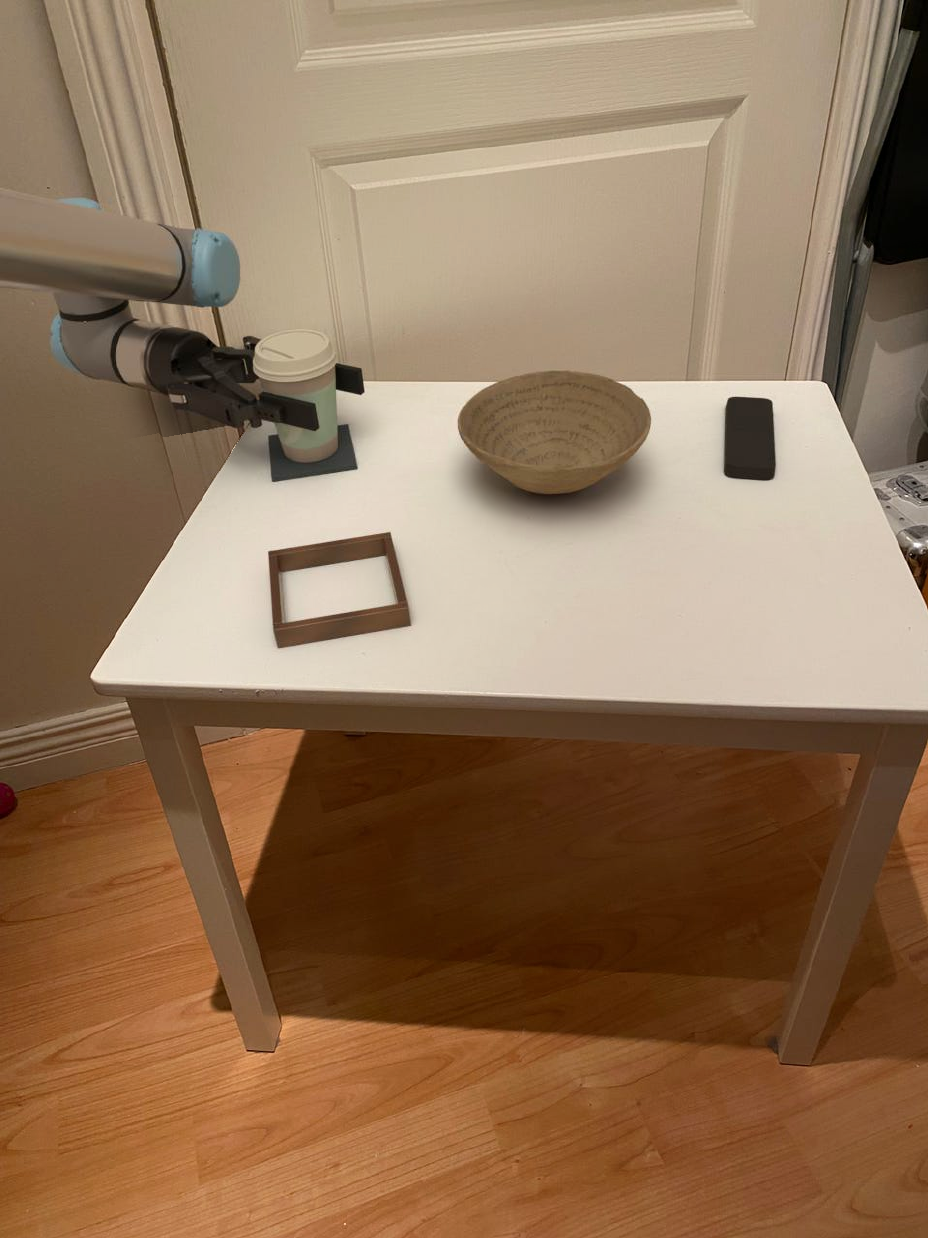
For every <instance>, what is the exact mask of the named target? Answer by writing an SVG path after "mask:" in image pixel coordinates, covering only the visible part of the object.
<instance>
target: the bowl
mask: <svg viewBox="0 0 928 1238" xmlns="http://www.w3.org/2000/svg"><path fill="white" fill-rule="evenodd" d="M651 426H652V415H651V411H650V408H649V406H648V404H647V403H646V401H645V400H644V399H643V397H640V396H639V395H637V394H636V392H634V390H632V388H630V387H628V386H627V385H625V384H622V383H621V382H618V381H615V380H614V379H612V378H609V377H607V376H603V375H600V374H596V373H591V372H581V371H570V370H547V371H536V372H529V373H524V374H521V375H515V376H511V377H508V378H506V379H503V380H499V381H497V382H494V383H493V384H490V385H489V386H487V387H484V388H482V389H481V390H479V391H478V392H477V393H475V394H474V395H473V396H472V397H471V398H470V399H468V400H467V401H466V403H465V404H464V405H463V407H462V408H461V410H460V412H459V414H458V418H457V430H458V433H459V436H460V439H461V441H462V442H463V443H464V445H465V446H466V447H467V449H468V450H469V451H470V452H471V453H472V454H473V456H475V457H476V459H478V460H479V461H480V462H481V463H483V464H484V465H485V466H487V467H488V468H490V469H491V470H492V471H493V472H495V473H496V474H498V475H500V476H501V477H502V478H504V479H506V481H508V482H509V483H511V484H512V485H514V486H515V487H517V488H518V489H521V490H523V491H527V492H530V493H534V494H541V495H558V494H559V495H560V494H569V493H573V492H578V491H581V490H583V489H586V488H589V487H590V486H592V485H594V484H596V483H597V482H599V481H601V480H602V479H603V478H605V477H606V476H608V475H610V474H612V473H613V472H614V471H616V470H617V469H619V468H620V467H621V466H622V465H624V464H625V463H627V462H628V461H629V460H630V459H631V458H632V457H633V456H634V455H635V454H636V453H637V452H638V451H639V450H640V449H641V447H642V446H643V445H644V443H645V441H646V440H647V438H648V436H649V433H650V430H651Z"/></svg>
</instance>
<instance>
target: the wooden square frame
mask: <svg viewBox="0 0 928 1238" xmlns="http://www.w3.org/2000/svg"><path fill="white" fill-rule="evenodd" d="M267 554H268V555H267V557H268V573H269V586H270V601H271V618H272V631H273V635H274V639H275V644H276V647H277V648H278V649H280V648H286V647H292V646H298V645H303V644H309V643H316V642H321V641H327V640H333V639H339V638H345V637H350V636H351V637H352V636H356V635H361V634H362V635H363V634H368V633H373V632H380V631H385V630H391V629H398V628H402V627H408V626H411V625H412V624H411V623H412V621H411V614H410V607H409V603H408V599H407V595H406V591H405V586H404V582H403V577H402V573H401V569H400V565H399V561H398V556H397V553H396V549H395V546H394V540H393V537H392V532H391V531H386V532H382V533H373V534H367V535H362V536H354V537H349V538H343V539H338V540H337V539H336V540H330V541H324V542H318V543H312V544H307V545H306V544H305V545H300V546H292V547H287V548H281V549H280V548H279V549H274V550H268V551H267ZM382 556H385V559H386V564H387V568H388V572H389V577H390V582H391V587H392V590H393V595H394V599H395V602H396V603H394V604H389V605H388V604H387V605H383V606H377V607H376V606H375V607H371V608H366V609H364V608H363V609H359V610H353V611H347V612H341V613H335V614H330V615H324V616H317V617H312V618H305V619H299V620H293V621H287V622H286V617H285V616H286V615H285V603H284V594H283V592H284V591H283V579H282V573H283V572H290V571H296V570H302V569H307V568H309V569H310V568H314V567H315V568H316V567H321V566H327V565H333V564H340V563H345V562H351V561H352V562H353V561H357V560H364V559H370V558H377V557H382Z"/></svg>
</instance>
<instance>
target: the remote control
mask: <svg viewBox="0 0 928 1238" xmlns="http://www.w3.org/2000/svg"><path fill="white" fill-rule="evenodd" d="M774 422H775V421H774V404H773V401H772V399H769V398H765V397H755V396H754V397H751V396H731V397H728V398H727V400H726V404H725V408H724V450H723V451H724V453H723V473H724V475H725V476H726V477H730V478H735V479H750V480H762V481H763V480H764V481H766V480H771V479H774V477H775V475H776V466H777V462H776V461H777V460H776V458H777V457H776V442H775V423H774Z"/></svg>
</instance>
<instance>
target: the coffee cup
mask: <svg viewBox="0 0 928 1238" xmlns="http://www.w3.org/2000/svg"><path fill="white" fill-rule="evenodd" d="M336 352H337V351H336V349H335V347H334V346H333V345H332V343H331V341H330V338H329V337H328V335H326V334H325V333H323V332H321V331H319V330H314V329H309V328H308V329H307V328H299V329H298V328H296V329H286V330H282V331H278V332H274V333H272V334H269V335H266V336H265V337H264V338H261V341H259V342H258V344H257V345H256V347H255V356H254V358H253V370H254V372H255V373H256V374H257V375H258V376H259V379H258V380H259V382H260V385H261V388H262V392H263V391H264V392H268V393H272V394H275V395H281V396H285V397H290V398H294V399H298V400H303V401H307V402H311V403H315V404H316V410H317V416H318V422H319V427H320V428H319V429H318V430H316V431H311V430H307V429H303V428H299V427H295V426H291V425H287V424H283V423H274V427H275V430H276V432H277V434H278V435H279V438H280V441H281V444H282V447H283V450H284V453H285V455H286V457H287V458H289V459H290V460H293V461H296V462H301V463H310V462H317V461H320V460H323V459H326V458H328V457H330V456H331V455H333V454H334V453H335V452H336V450H337V448H338V432H337V425H338V410H337V409H338V407H337V406H338V405H337V390H336V377H335V364H336V363H338V355H337V353H336Z"/></svg>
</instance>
